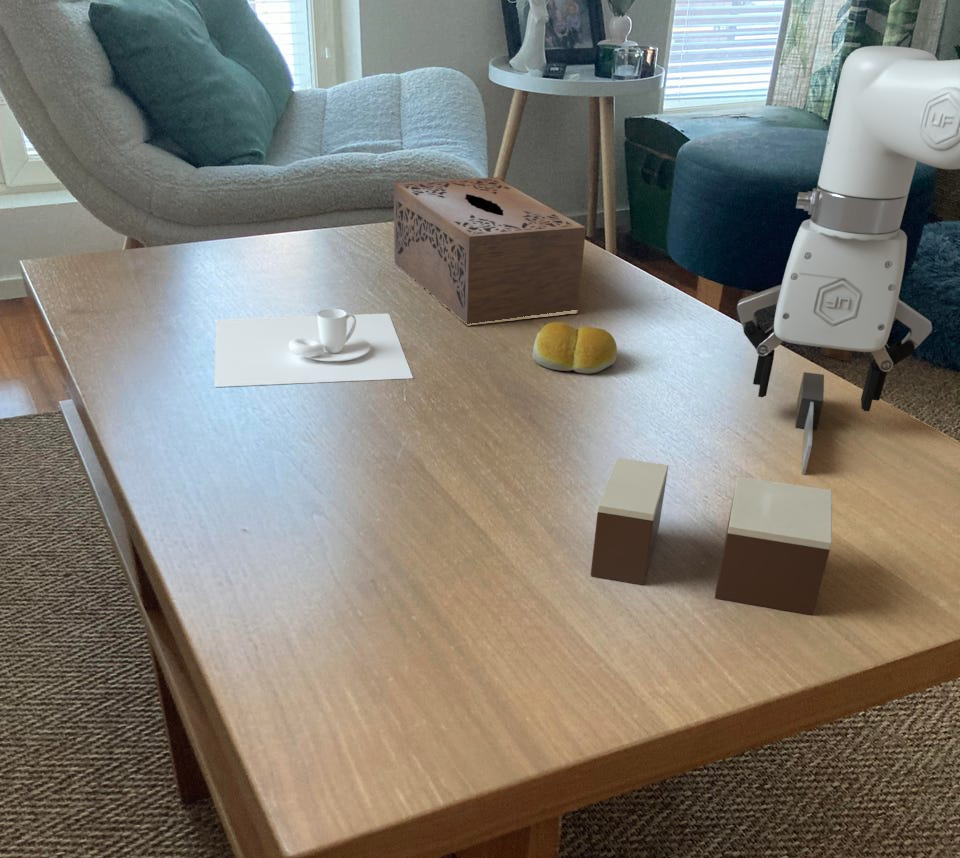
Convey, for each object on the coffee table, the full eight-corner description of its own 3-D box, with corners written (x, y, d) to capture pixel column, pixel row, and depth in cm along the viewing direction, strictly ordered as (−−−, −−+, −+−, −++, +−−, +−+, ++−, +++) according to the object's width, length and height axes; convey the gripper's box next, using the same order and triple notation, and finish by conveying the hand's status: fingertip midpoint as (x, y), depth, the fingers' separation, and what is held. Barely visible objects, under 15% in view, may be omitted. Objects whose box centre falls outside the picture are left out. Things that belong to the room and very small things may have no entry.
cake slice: (658, 533, 82) (668, 464, 78) (643, 585, 76) (654, 513, 72) (608, 525, 83) (616, 457, 79) (590, 576, 76) (598, 505, 73)
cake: (813, 559, 79) (832, 489, 76) (812, 615, 73) (832, 542, 70) (723, 544, 81) (737, 475, 77) (714, 598, 74) (728, 526, 71)
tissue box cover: (394, 263, 138) (393, 183, 132) (493, 254, 143) (496, 177, 137) (466, 326, 119) (469, 236, 113) (578, 314, 124) (585, 227, 118)
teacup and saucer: (291, 367, 107) (287, 328, 105) (287, 340, 113) (284, 303, 111) (374, 363, 109) (373, 325, 106) (366, 337, 115) (365, 300, 112)
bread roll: (614, 378, 108) (618, 341, 105) (529, 371, 108) (531, 334, 106) (617, 350, 114) (621, 314, 112) (536, 343, 115) (539, 308, 113)
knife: (797, 400, 104) (803, 371, 103) (817, 402, 104) (824, 374, 102) (791, 472, 91) (798, 441, 89) (814, 476, 91) (822, 445, 89)
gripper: (752, 212, 88) (719, 401, 98) (967, 233, 84) (909, 427, 94) (758, 192, 94) (725, 373, 104) (958, 211, 90) (904, 396, 100)
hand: (813, 398), depth 99 cm, fingers open, 9 cm apart
